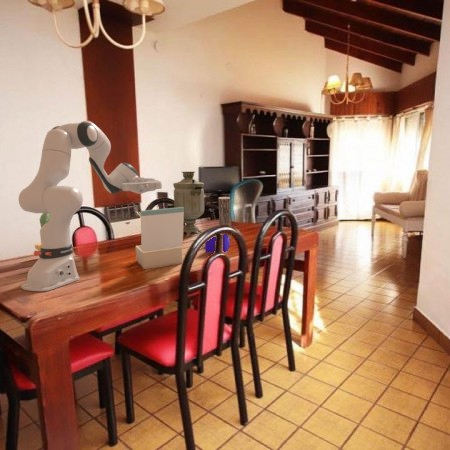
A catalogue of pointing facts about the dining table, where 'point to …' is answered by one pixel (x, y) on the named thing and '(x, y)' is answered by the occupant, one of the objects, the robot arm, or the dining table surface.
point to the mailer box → (159, 257)
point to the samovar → (189, 200)
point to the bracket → (211, 244)
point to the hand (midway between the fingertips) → (145, 186)
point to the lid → (162, 228)
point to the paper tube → (224, 212)
